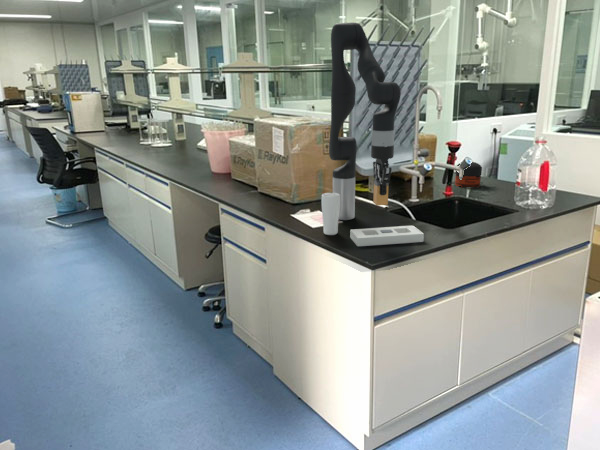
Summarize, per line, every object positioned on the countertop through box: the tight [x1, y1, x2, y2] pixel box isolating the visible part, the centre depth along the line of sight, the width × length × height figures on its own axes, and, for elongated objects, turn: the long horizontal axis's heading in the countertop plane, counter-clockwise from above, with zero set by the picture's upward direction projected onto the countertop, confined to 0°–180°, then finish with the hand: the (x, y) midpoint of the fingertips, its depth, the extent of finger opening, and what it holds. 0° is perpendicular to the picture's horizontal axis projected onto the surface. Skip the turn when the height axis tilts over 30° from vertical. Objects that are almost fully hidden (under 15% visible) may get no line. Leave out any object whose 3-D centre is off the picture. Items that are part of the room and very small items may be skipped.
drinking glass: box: [321, 192, 340, 236], centre depth 177 cm, size 7×7×15 cm
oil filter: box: [454, 161, 483, 188], centre depth 252 cm, size 13×12×13 cm
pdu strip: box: [349, 225, 425, 247], centre depth 171 cm, size 10×24×3 cm, turn 99°
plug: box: [372, 179, 390, 206], centre depth 166 cm, size 4×4×8 cm
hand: (380, 193), depth 166 cm, fingers closed on plug, 4 cm apart
